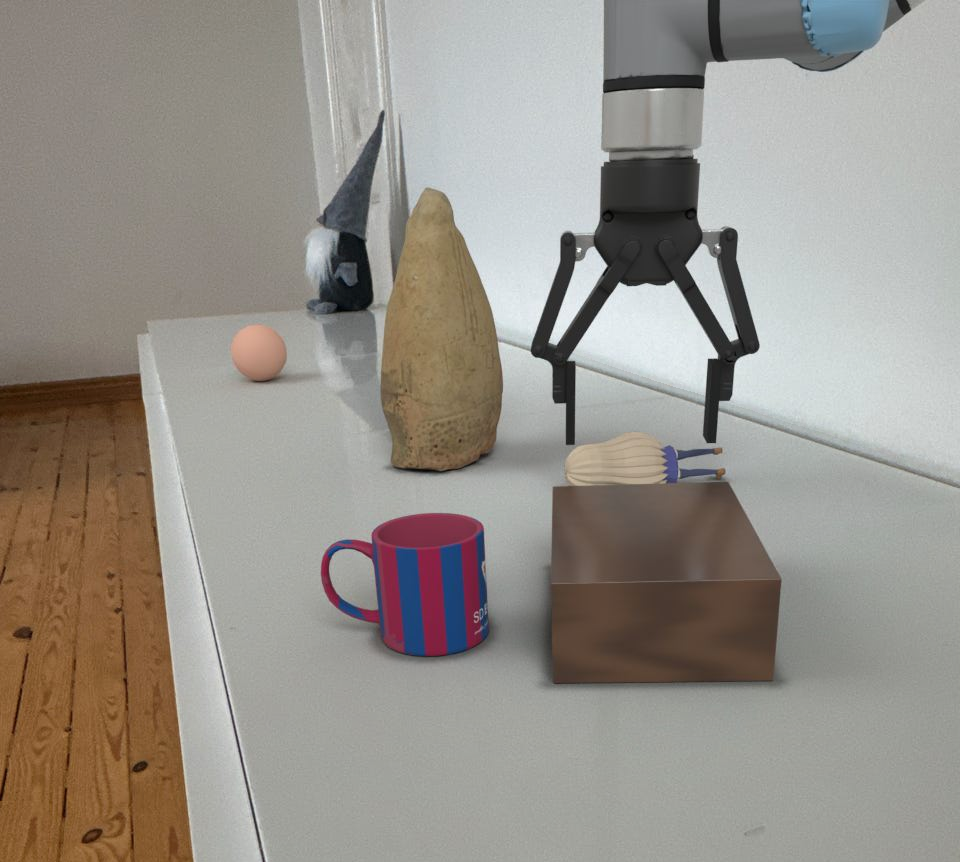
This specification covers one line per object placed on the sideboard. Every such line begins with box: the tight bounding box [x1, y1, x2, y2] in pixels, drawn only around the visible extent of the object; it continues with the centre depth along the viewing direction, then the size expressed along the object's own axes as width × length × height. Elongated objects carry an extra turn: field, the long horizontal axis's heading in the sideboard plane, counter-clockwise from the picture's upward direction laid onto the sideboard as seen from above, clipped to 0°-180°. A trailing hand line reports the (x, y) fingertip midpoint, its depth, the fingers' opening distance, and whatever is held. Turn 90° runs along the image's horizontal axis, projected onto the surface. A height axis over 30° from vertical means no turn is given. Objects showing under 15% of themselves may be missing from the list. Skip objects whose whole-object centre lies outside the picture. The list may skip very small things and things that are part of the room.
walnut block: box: [550, 481, 782, 684], centre depth 62 cm, size 12×18×6 cm, turn 176°
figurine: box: [563, 431, 726, 486], centre depth 87 cm, size 6×4×15 cm
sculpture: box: [379, 187, 504, 472], centre depth 95 cm, size 12×11×25 cm
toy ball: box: [230, 324, 288, 382], centre depth 145 cm, size 8×8×8 cm
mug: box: [320, 512, 490, 657], centre depth 61 cm, size 7×10×7 cm
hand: (639, 440), depth 85 cm, fingers open, 11 cm apart
